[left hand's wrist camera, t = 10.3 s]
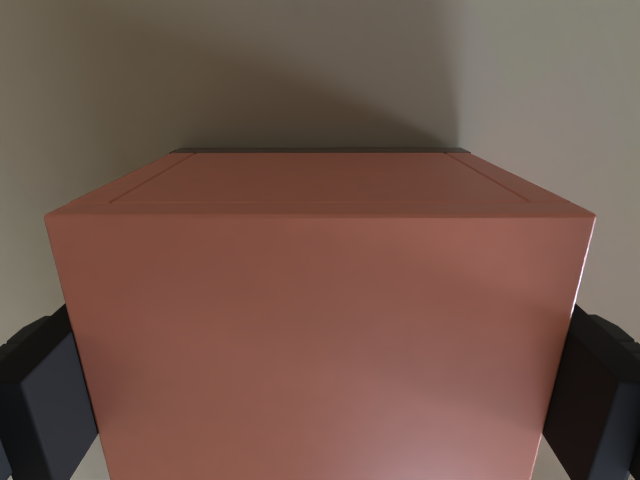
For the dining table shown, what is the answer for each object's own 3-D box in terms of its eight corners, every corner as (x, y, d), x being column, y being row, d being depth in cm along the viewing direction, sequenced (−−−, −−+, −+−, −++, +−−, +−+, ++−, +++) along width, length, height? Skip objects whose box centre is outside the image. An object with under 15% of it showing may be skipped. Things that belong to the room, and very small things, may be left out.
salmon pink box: (414, 532, 22) (461, 756, 15) (226, 532, 22) (179, 757, 15) (461, 147, 15) (600, 213, 7) (178, 147, 15) (40, 214, 7)
